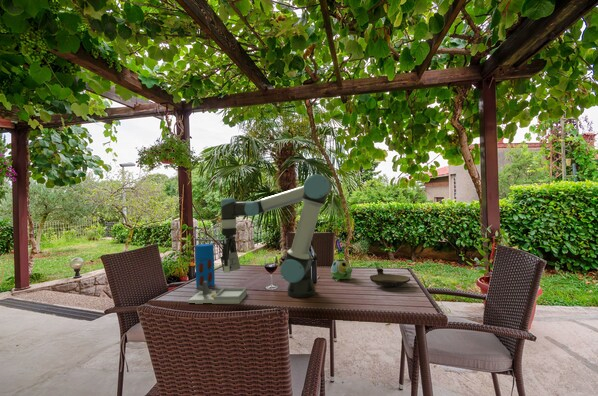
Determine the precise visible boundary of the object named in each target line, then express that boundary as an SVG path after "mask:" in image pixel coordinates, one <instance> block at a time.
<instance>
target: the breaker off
mask: <svg viewBox="0 0 598 396" xmlns="http://www.w3.org/2000/svg"><path fill="white" fill-rule="evenodd" d="M196 290H197V291H199V292H200V291H203V286H201V285H199V286H198V287H197V286H196ZM212 291H213V289H211V288H208V293H211V292H212Z"/></svg>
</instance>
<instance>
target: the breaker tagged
mask: <svg viewBox="0 0 598 396" xmlns="http://www.w3.org/2000/svg"><path fill="white" fill-rule="evenodd" d="M202 283H203V297H206V296H207V295H208V294H207V293H208V284H207V281H204V282H202Z"/></svg>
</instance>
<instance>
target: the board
mask: <svg viewBox="0 0 598 396" xmlns="http://www.w3.org/2000/svg"><path fill="white" fill-rule="evenodd" d="M247 289H248V288H247V287H223V288H222V289H217V290H212V292H211V293H207V294H208V295H207V296H206V297H203V291H200V290H199V292H197V293H196V294H194V295H193V296H192V297H191V298H189V299H188V304H189V303H195V305H198V304H199V305H201V304H202V305H203V303H212V304H215V305H217V304H219V305H221V304H224V305H225V304H226V305H227V304H233V305H234V304H235V305H236V304H240V303H241V302H242V301H243V300H244V299H245V298H246V296H247V295H248V290H247Z"/></svg>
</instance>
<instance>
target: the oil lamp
mask: <svg viewBox="0 0 598 396" xmlns="http://www.w3.org/2000/svg"><path fill="white" fill-rule="evenodd" d="M375 269H376V272H377V274H372V275H370V276H369V279H370V281H371V282H373V283H375V284H377V285H379V286H382V287H387V288H389V287H390V288H392V287H400V286H402V285H405V284H407V283H409V282H411V277H409V276H407V275H403V274H391V273H384V268H381V267H380V266H379V265H376V266H375Z"/></svg>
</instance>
